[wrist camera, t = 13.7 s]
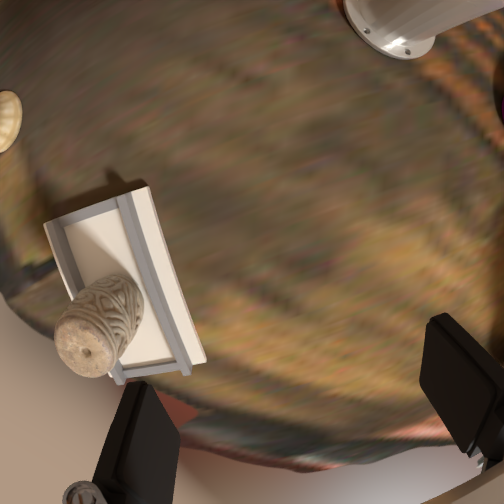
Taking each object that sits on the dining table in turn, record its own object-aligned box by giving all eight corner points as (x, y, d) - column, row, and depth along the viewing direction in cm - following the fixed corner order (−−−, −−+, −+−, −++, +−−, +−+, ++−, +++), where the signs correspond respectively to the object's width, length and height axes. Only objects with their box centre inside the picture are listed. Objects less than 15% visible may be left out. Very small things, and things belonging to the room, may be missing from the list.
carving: (126, 256, 33) (82, 305, 21) (159, 313, 35) (133, 378, 24) (84, 278, 33) (34, 329, 22) (117, 330, 35) (83, 393, 24)
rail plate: (47, 222, 32) (34, 227, 29) (148, 185, 32) (141, 188, 29) (112, 373, 38) (106, 386, 36) (206, 357, 38) (205, 372, 36)
